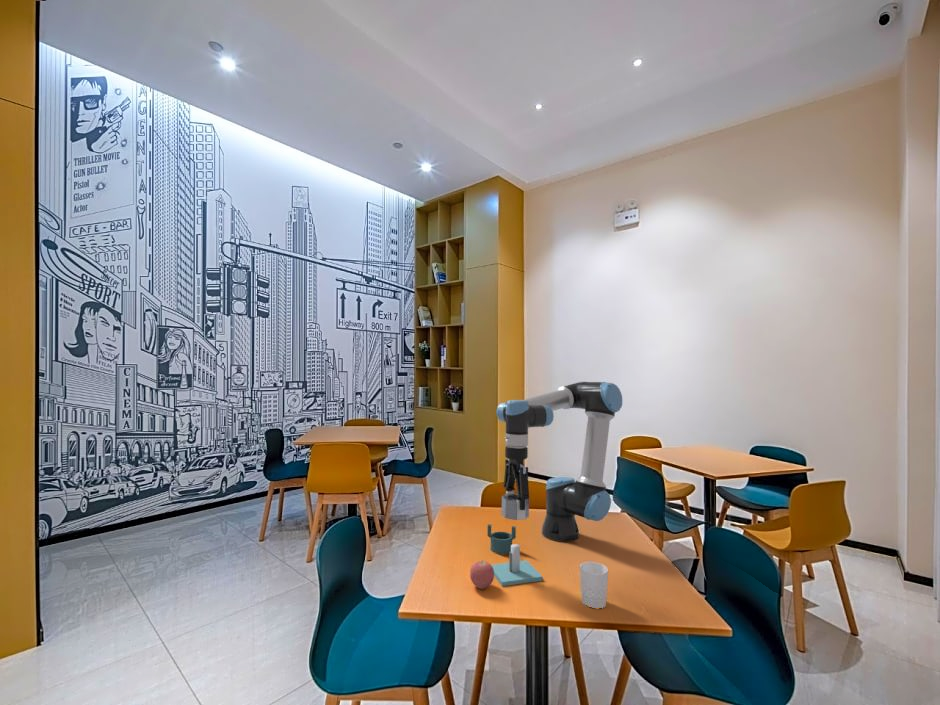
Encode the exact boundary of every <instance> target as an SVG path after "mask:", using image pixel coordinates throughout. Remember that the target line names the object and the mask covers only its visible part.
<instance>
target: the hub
mask: <svg viewBox="0 0 940 705" xmlns="http://www.w3.org/2000/svg"><path fill="white" fill-rule="evenodd" d="M516 498H518V493H514V494H506V493H505V494H504V495H502V496H501V515H502V517H503V518H504V519H508V520H513V521H518V520H517V499H516ZM529 516H530V498H529V499H526V505H525V520H527V518H529Z"/></svg>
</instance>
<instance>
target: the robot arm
mask: <svg viewBox="0 0 940 705" xmlns="http://www.w3.org/2000/svg"><path fill="white" fill-rule="evenodd" d="M622 406H623V394H622V392H621V390H620V388H619V387H618V385H617V384H615V383H613V382H606V381H579V382H575V383H571V384H568V385H563V386H560V387H558V388H557V389H556V390H555V391H551V392H548V393H543V394H540V395H536V396H533V397H529V398H525V399H509V400H507V402H501V403H499V404H498V405H497V408H496V417H497V419H498V420H499V421H500V422H503V423H505V436H504V439H505V445H506V446H505V450H504V451H505V452H504V456H505V458H506V459H505V460H504V461H505V462H504V464H505V468H504V477H503V488H505V491H506V492H505V494H515V490H516V492H517V494H518V498H516V499H517V520H516V521H524V520H526V519H525V505H526V499H529V500H530V491H529V490H530V489H529V488H530V487H529V467H528V466H525V464H524V463H525V462H524V460H527V459H528V457H529V456H528V454H529V452H528V450H529V448H528V446H529V428H539V427H540V428H545V427H548V426H551V425H552V423H553V421H554V417H555V416H554V411H558V410H560V409H563V410H568V409H569V410H570V409H583V410H584V414H585V415H586V417H587V421H586V422H587V423H586V430H585V431H586V432H585V437H584V438H585V439H584V447H583V453H582V461H581V468H580V469H581V470H580V476H579V477H578V478H577V479H575V478H573V477H570V476H567V477H566V476H565V477H564V476H561V477H558V476H557V477H552V478H549V479H547V481H546V486H545V495H546V496H545V497H546V498H545V503H546V506H545V509H546V510H545V512H546V514H545V516H544V520H543V523H542V527H541V535H542V536H544V538H547V539H550V540H551V541H557V542H573V541H576V540H578V539H579V538H580V531H579V526H578V524H577V520H576V517H575V516H579V517H581V518H585V519H586V520H589V521H590V520H591V521H594V522H599V521H602V520H603V519H605V517H606V516H607V515H608V513H609V511H610V509H611V504H612V499H611V495H610V494H609V493H608V491H606V489H607V485H606V484H605V483H604V481H603V479H604V474H605V472H604V471H605V463H606V457H607V447H608V441H609V440H608V439H609V432H610V424H611V421H612V420H613V419H614V418H615V416H616V415H615V414H616V413H618V412H620V410H621V409H622ZM515 484H516V488H515Z"/></svg>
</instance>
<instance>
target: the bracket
mask: <svg viewBox="0 0 940 705" xmlns="http://www.w3.org/2000/svg"><path fill="white" fill-rule="evenodd" d="M516 529H517V526H514V525H512V526H511V533H510V532H506V531H493V532H492V524H487V537H488V538H490V551H491V552H492V553H494V554H496V555H497V554H498V555H508V554H509V552H511V545H512V544H513V541H514V540H515V539H516V538H517V537H516V535H517V534H516V533H517V530H516Z"/></svg>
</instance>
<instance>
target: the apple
mask: <svg viewBox="0 0 940 705" xmlns="http://www.w3.org/2000/svg"><path fill="white" fill-rule="evenodd" d="M492 565H493V564H491V563H489V562H488V561H485V560H479V561H476V562H474V563H473V565H471V568H470V572H469V573H470V575H469V576H470V580H471V582H472V584H473V585H474V586H475V587H476V588H478V589H487V588H488V587H490V586H491V584H492V583H493V581H494V579H495V576H494V569H493V567H492Z"/></svg>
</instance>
